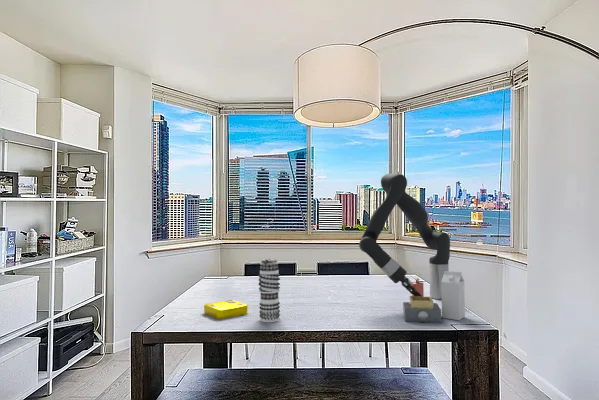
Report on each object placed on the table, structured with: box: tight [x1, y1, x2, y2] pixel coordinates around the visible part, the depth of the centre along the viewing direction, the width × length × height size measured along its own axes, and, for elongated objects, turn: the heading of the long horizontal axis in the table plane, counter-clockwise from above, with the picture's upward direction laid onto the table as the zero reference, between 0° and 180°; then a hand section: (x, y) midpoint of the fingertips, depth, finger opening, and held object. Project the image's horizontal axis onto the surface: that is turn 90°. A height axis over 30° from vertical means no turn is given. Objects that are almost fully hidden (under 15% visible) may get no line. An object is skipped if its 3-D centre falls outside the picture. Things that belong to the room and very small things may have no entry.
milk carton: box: [441, 270, 466, 321], centre depth 170 cm, size 7×7×19 cm
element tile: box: [203, 299, 248, 320], centre depth 181 cm, size 15×15×5 cm
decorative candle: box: [257, 258, 281, 323], centre depth 170 cm, size 9×9×25 cm
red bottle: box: [411, 277, 425, 297], centre depth 183 cm, size 5×5×14 cm
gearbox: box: [402, 295, 442, 324], centre depth 169 cm, size 13×14×8 cm
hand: (420, 296), depth 183 cm, fingers open, 8 cm apart
